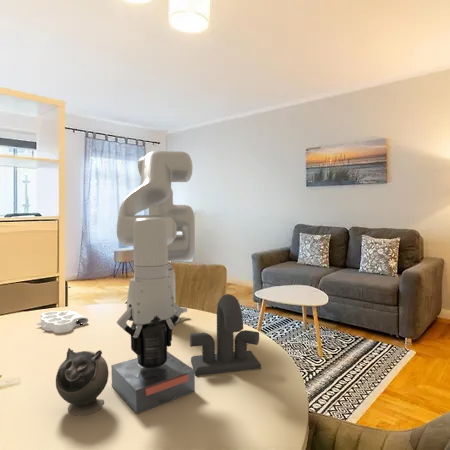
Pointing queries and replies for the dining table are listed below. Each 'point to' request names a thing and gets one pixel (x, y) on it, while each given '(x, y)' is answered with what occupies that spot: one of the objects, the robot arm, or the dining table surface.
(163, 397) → the stand
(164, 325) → the supplement bottle
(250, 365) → the faucet
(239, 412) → the dining table surface
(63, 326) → the white flat holed piece
